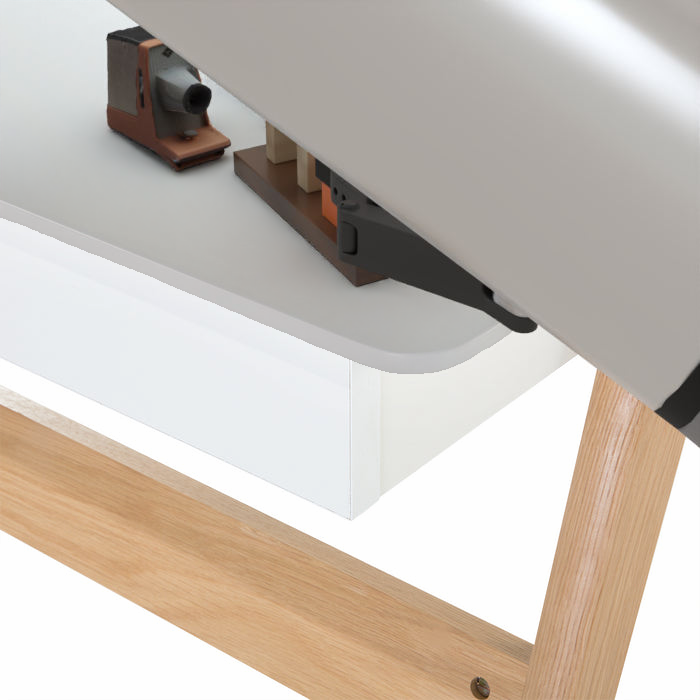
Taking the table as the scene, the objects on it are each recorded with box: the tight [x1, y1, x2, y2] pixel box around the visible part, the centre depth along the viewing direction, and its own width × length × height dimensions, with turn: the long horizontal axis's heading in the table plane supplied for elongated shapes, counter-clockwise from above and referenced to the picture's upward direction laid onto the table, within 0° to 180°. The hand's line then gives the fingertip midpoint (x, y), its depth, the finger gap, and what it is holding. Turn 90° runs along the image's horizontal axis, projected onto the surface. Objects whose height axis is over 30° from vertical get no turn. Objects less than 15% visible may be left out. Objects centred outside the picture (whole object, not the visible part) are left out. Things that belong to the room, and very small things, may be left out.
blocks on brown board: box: [232, 119, 388, 287], centre depth 75 cm, size 16×6×6 cm, turn 29°
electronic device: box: [105, 25, 232, 171], centre depth 82 cm, size 4×10×8 cm, turn 39°
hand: (441, 120), depth 62 cm, fingers open, 13 cm apart
